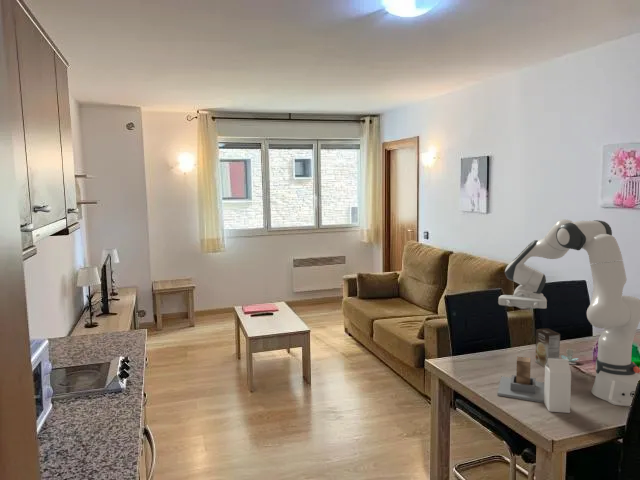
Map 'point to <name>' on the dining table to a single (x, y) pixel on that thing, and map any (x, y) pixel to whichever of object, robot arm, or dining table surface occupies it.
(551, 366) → the milk carton
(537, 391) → the socket base
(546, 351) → the coffee box
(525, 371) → the walnut block
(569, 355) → the pacifier
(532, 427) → the dining table surface
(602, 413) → the dining table surface
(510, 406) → the dining table surface
